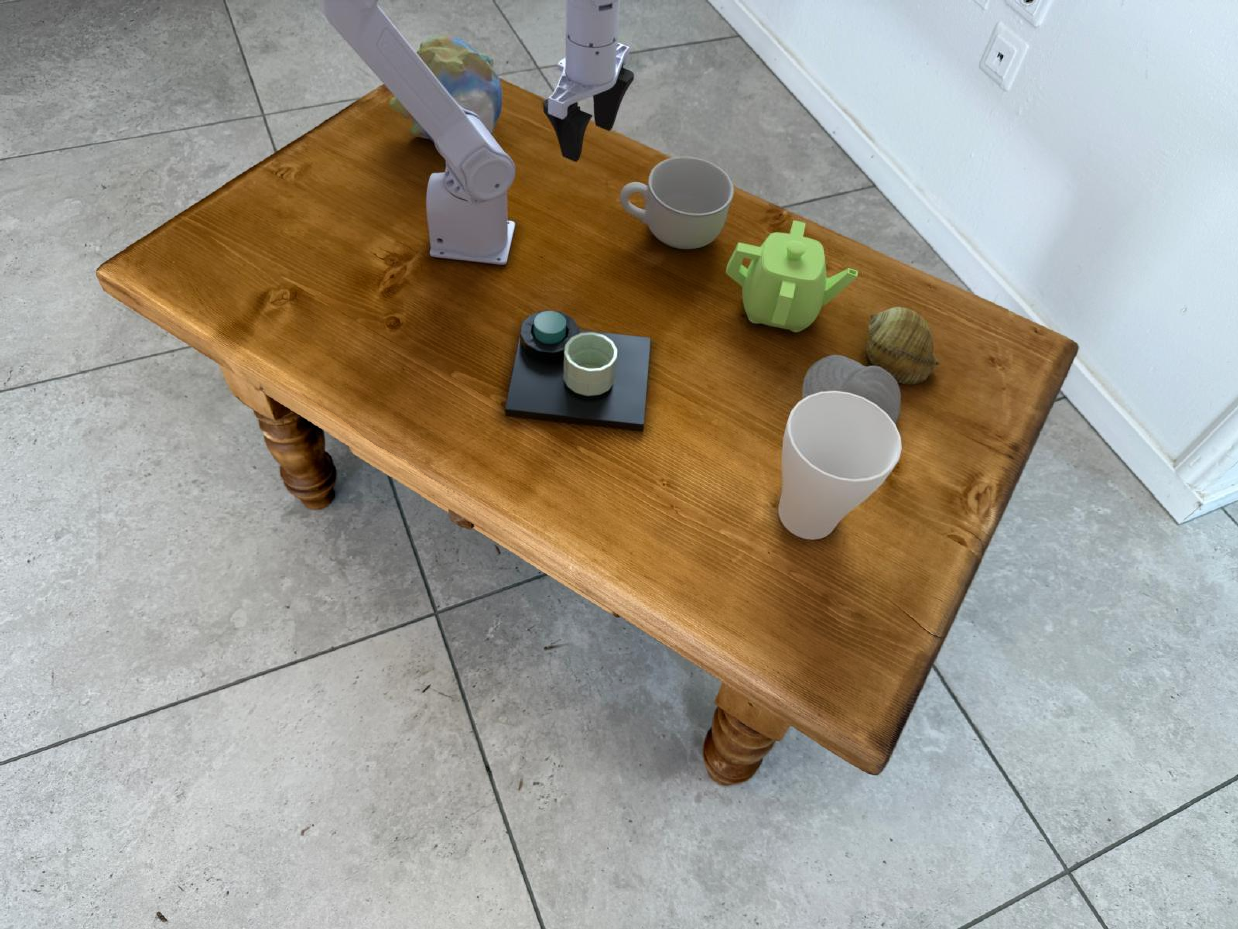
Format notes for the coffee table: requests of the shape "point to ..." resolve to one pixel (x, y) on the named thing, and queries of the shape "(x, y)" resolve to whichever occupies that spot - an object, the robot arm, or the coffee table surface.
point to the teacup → (683, 201)
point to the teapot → (786, 279)
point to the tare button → (549, 327)
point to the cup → (833, 460)
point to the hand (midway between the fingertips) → (587, 142)
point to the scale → (550, 399)
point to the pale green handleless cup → (589, 363)
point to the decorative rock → (460, 80)
